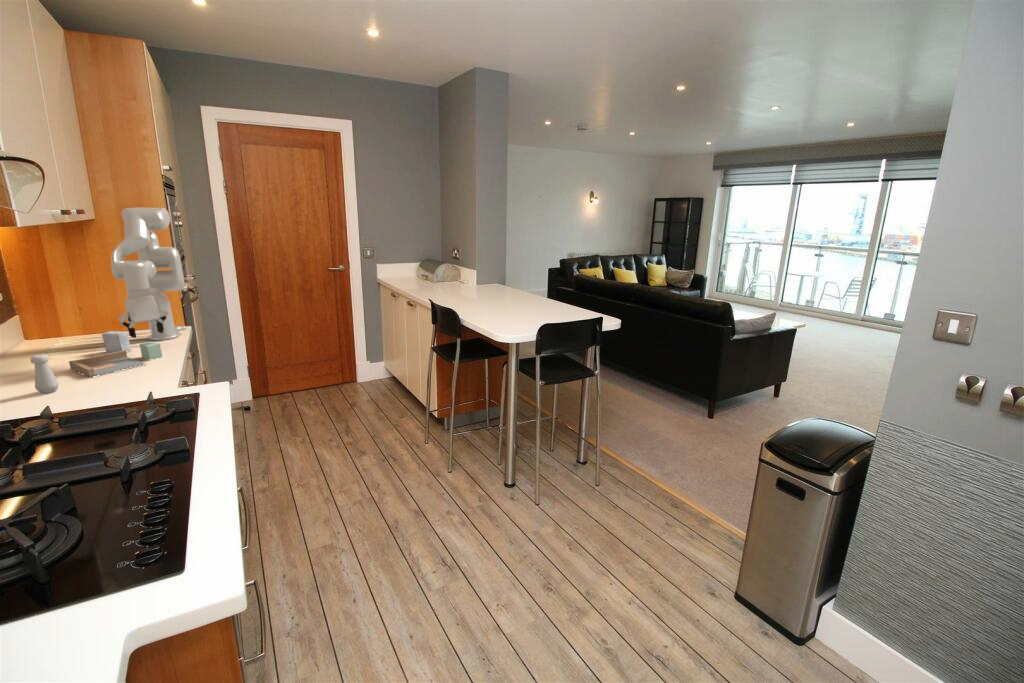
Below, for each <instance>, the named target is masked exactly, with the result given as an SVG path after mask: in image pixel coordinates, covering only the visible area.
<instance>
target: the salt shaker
mask: <svg viewBox="0 0 1024 683" xmlns="http://www.w3.org/2000/svg"><path fill="white" fill-rule="evenodd" d="M49 359H50V358H49V356H48V355H47V354H43V353H42V354H36V355H32V356H31V357H30V362H31V363H32V365H33V364H34V388H35V390H36V391H38V393H39V394H40V395H48V394H52V393H55V392H56V391H58V388H59V381H58V379H57V377H56V376H55V373H54V372H53V371H52V369H51V366H50V365H49V363H48V361H49Z"/></svg>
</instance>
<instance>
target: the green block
mask: <svg viewBox="0 0 1024 683" xmlns="http://www.w3.org/2000/svg"><path fill="white" fill-rule="evenodd" d="M139 348H140V353H141V356H142V357H144V358H143V359H145V358H147V359H146V360H148V359H150V360H149V361H152V360H151V359H154V360H157V359H156V358H159V359H162V358H161V357H163V353H162V348H161V344H160V343H158V342H154V341H147V342H143V343H139Z"/></svg>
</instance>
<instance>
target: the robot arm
mask: <svg viewBox="0 0 1024 683" xmlns="http://www.w3.org/2000/svg"><path fill="white" fill-rule="evenodd" d="M121 218H122V220H123V222H124V239H123V240H122V241H120V243H118V244H117V245H116V247H115V248H114V249H113V251H112V253H111V257H110V258H111V260H110V261H111V262H110V264H111V273H112V275H113V277H114V278H115V279H117V280H121V281H124V283H125V289H126V293H127V297H125V313H124V314H122V315H121V316H119V317H118V318H117V321H118V322H119V323H120V324H121V325H122V326H124V327H126V328H127V330H128V336H129V337H131V338H135V339H136V338H137V334H136V329H135V327H134V326H135V324H136V323H142V322H144V323H145V322H148V324H149V325H148V326H149V331H150V335H148V336H147V339H148V340H149V341H166V340H172V339H175V338H176V339H177V338H178V337H180V336H181V335H180V332H181V331H186V330H187V326H185V325H183V326H176V325H175V322H174V318H173V313H172V307H171V302H170V299H169V297H167V296H166V294H164V293H163V292H172V291H181V290H183V289H184V287H185V278H184V271H183V266H182V265H183V264H182V260H181V255H180V253H179V251H178V249H177V248H176V247H173V246H172V247H171V246H160V242H159V237H158V235H157V234H156V233H155V232H154V231H162V230H163V231H164V230H166V229H167V228H168V227H169V226H170V223H171V215H170V213H169V211H168V210H167V208H164V207H143V206H142V207H139V206H138V207H136V206H135V207H128V208H127V207H126V208H124V209H122V211H121ZM134 253H137V257H138V260H124V259H125V258H126V257H127V256H129V255H132V254H134ZM163 268H164V269H167V268H168V269H169V270H157V269H163ZM125 319H126V320H127V321H128V322H126V320H125Z"/></svg>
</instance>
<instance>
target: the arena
mask: <svg viewBox="0 0 1024 683" xmlns="http://www.w3.org/2000/svg"><path fill="white" fill-rule="evenodd" d="M68 364H69V367H70V368H69V369H70V370H71V369H73V370H75V371H77V372H76V373H78V372H80V373H82V374H84V375H86V376H88V377H87V378H89V377H92V378H94V377H93V376H97V375H101V376H103V375H102V374H105V375H107V374H106V373H110V372H114V371H118V370H122V369H127V368H130V367H135V366H139V365H143V364H146V365H147V363H145V362H142V361H140V360H137V359H135V358H131V357H129V356H128V352H126V351H125V350H123V351H118V352H113V353H105V354H104V353H103V354H98V355H94V356H90V357H84V358H79V359H74V360H70V361H68ZM135 368H136V367H135ZM73 370H72V371H73ZM127 370H128V369H127ZM75 371H74V372H75ZM118 372H119V371H118ZM80 373H79V374H80ZM114 373H115V372H114ZM82 374H81V375H82ZM110 374H111V373H110ZM84 375H83V376H84ZM86 376H85V377H86ZM97 377H98V376H97Z"/></svg>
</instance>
